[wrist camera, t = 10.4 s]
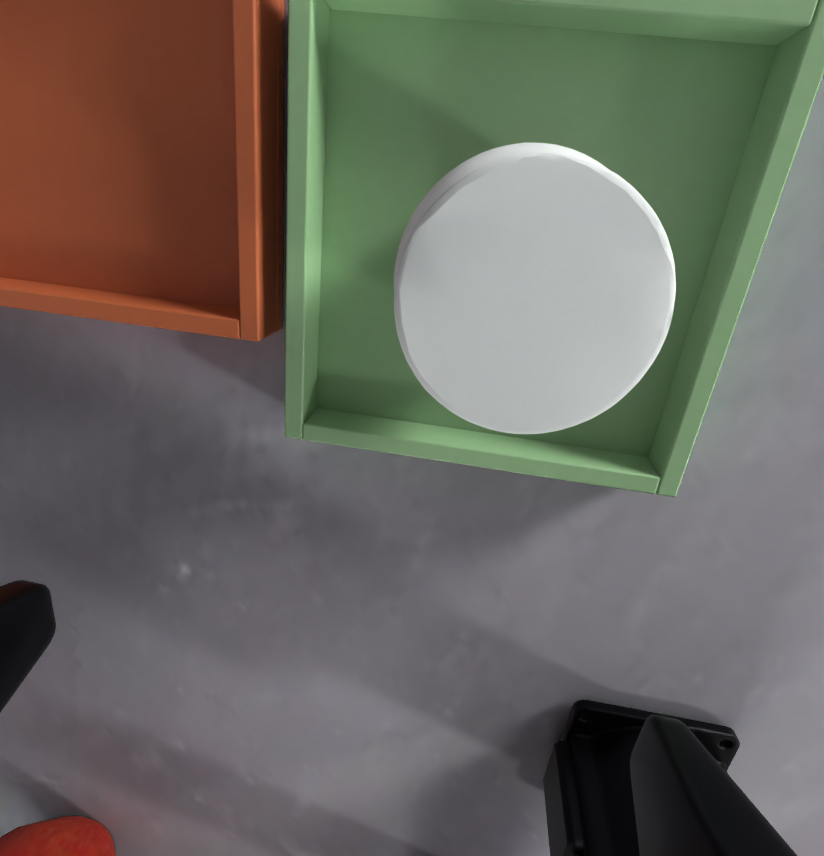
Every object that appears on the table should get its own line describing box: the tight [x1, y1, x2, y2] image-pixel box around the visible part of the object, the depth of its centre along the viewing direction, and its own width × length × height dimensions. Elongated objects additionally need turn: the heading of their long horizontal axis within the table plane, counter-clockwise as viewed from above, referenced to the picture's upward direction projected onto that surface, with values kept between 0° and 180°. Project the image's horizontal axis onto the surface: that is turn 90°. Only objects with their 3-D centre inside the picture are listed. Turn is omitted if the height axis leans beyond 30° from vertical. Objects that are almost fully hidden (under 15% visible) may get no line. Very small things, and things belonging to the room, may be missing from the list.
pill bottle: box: [394, 143, 676, 434], centre depth 11 cm, size 5×5×8 cm
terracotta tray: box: [0, 0, 285, 342], centre depth 15 cm, size 12×12×2 cm
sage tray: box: [285, 0, 824, 497], centre depth 15 cm, size 12×12×2 cm
